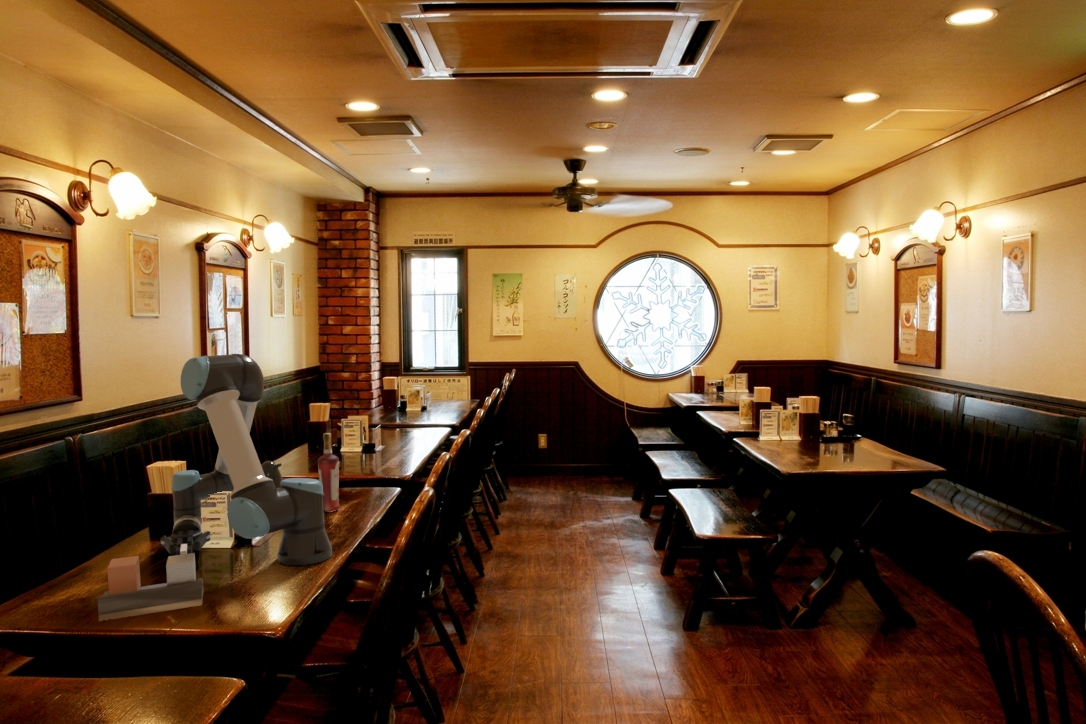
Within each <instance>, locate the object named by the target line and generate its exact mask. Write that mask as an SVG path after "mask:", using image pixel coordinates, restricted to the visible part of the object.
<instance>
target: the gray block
mask: <svg viewBox="0 0 1086 724" xmlns="http://www.w3.org/2000/svg"><path fill="white" fill-rule="evenodd" d="M195 555H196V554H195V552H192V553H190V554H183V555H176V554H175V555H169V556H168V557H167V560H166V565H165V568H166V583H167V586H172V585H179V584H185V583H192V582H197V574H196V573H197V571H196V569H197V568H196V556H195Z"/></svg>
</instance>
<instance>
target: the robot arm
mask: <svg viewBox="0 0 1086 724" xmlns="http://www.w3.org/2000/svg"><path fill="white" fill-rule="evenodd" d="M180 389H181V392H182V394H183V395H184V397H185V398H187V399H189V400H195V402H196V405H197V408H199V410H202V411H204V412H206V416H207V418H208V421H209V425H210V427H211V429H212V432H213V435H214V437H215V441H216V444H217V445H218V446H217V447H218V454H217V458H216V462H215V465H214V468H213V469H214V470H213V471H212V472H209V473H208V472H207V473H204V474H200V473H199V470H195V469H190V470H189V469H188V470H181V471H177V472H175V473H174V474H173V475H172V478H171V479H172V480H171V491H172V499H173V500H172V502H173V527H172V528H173V529H172V532H171V535H169V536H161V537H160V546H161V548H165V549H166V551H167V552H168V553H169V554H170V555H174V554H175V555H183V554H190V553H193V551H196V552H198V551H200V550H201V549H202V548H203V547H204V546H205V545H206V543H208V542H209V541H211V531H208V530H207V531H205V532H203V531H202V524H203V517H202V518H201V515H202V500H205V499H209V498H208V497H210V495H208V494H214V493H217V492H222V491H232V493H230V495H229V497H230V501H229V503H228V504H227V508H226V511H227V513H226V514H227V515H226V517H227V520H228V523H229V525H230V527H231V528H232V530H233V531H234V532H235V533H236V534H237V535H238V536H240V537H241V538H244V539H255V538H262V537H265V536H266V535H268V534H272V533H277V532H279V531H282V536H281V539H280V543H279V546H278V550H277V552H276V553H277V555H276V556H277V562H278V563H279V562H280V563H282V564H281V565H283V564H285V566H288V565H303V566H308V564H310V565H314V563H315V564H318V562H319V563H321V562H324V561H326V560H328V559H329V558H331V557H332V556H333V547H332V544H331V541H330V539H329V537H328V534H327V531H326V527H325V512H324V493H323V486H322V483H321V482H320V481H319V479H316V478H309V477H307V478H306V477H291V478H284V479H283V478H282V481H281V483H280V486H281V487H279V488H276V487H275V484H274V482H273V480H272V479H270V478H267V477H266V476H265V475H264V472H263V469H262V467H261V465H262V464H261V461H260V459H259V456H258V453H257V451H256V448H255V446H254V445H255V444H254V443H253V440H252V437H251V435H250V432H251V428H252V426H253V420H254V417H255V412H256V409H257V405H258V403H259V402H261V400H262V399H263V395H264V389H265V379H264V374H263V371H262V369H261V367H260V365H259V364H258V363H257V361H255V360H254V359H253V358H252V357H250V356H248V355H245V354H242V353H232V354H231V353H230V354H220V355H219V354H218V355H201V356H197V357H191V358H189V359H188V360H187V361H185V363H184V365H183V367H182V369H181V373H180ZM210 498H211V497H210ZM280 563H279V564H280Z"/></svg>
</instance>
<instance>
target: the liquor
mask: <svg viewBox="0 0 1086 724" xmlns="http://www.w3.org/2000/svg"><path fill="white" fill-rule="evenodd" d="M322 437H323V455H321V456H319V458H317V468H318V470H317V471H318V480H319V481H320V482H321V483H322V486H323V493H324V511H332V510H337V509H338V510H339V509H340V508H341V505H340V503H339V501H340V499H339V496H340V495H339V493H340V491H339V490H340V489H339V487H340V486H339V483H340V481H339V480H340V479H339V477H340V475H339V474H340V469H339V468H340V465H339V464H340V458H339V457H338V456H336V455H335V454H333V450H332V448H333V447H332V443H331V442H332V433H330V432H324V433H323V435H322ZM338 510H337V511H338Z"/></svg>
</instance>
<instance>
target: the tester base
mask: <svg viewBox="0 0 1086 724" xmlns="http://www.w3.org/2000/svg"><path fill="white" fill-rule="evenodd" d="M203 598H204V579H203V577H199V578H197V581H196V582H192V583H185V584H179V585H172V586H167V582H163V583H157V584H152V585H151V584H149V585H144V586H143V585H141V588H140V590H138V591H131V592H125V593H118V594H111V595H109V590H108V591H104V593H103V595H99V596H97V611H98V612H97V614H98V622H104V621H103V620H105V621H109V619H111V620H117V619H122V617H123V618H128V617H129V616H130V617H135V616H140V615H148V614H154V613H161V612H165V611H166V612H167V611H172V610H173V611H174V610H179V609H184V608H190V607H193V608H194V607H198V606H199V607H200V606H202V605H203Z"/></svg>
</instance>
